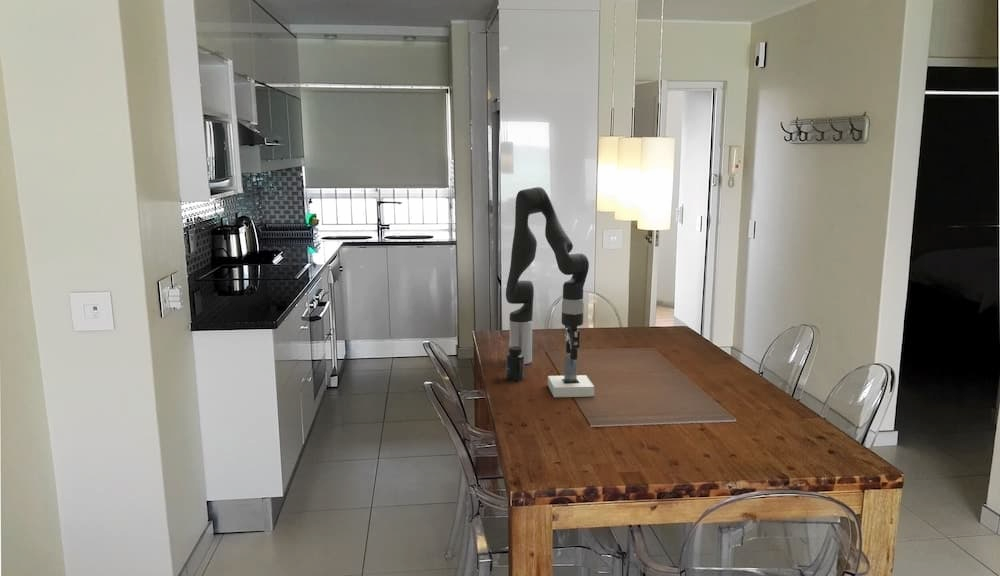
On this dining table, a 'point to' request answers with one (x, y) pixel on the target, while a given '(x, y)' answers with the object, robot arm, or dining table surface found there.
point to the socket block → (570, 387)
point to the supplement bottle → (515, 364)
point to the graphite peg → (570, 370)
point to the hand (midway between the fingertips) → (571, 356)
